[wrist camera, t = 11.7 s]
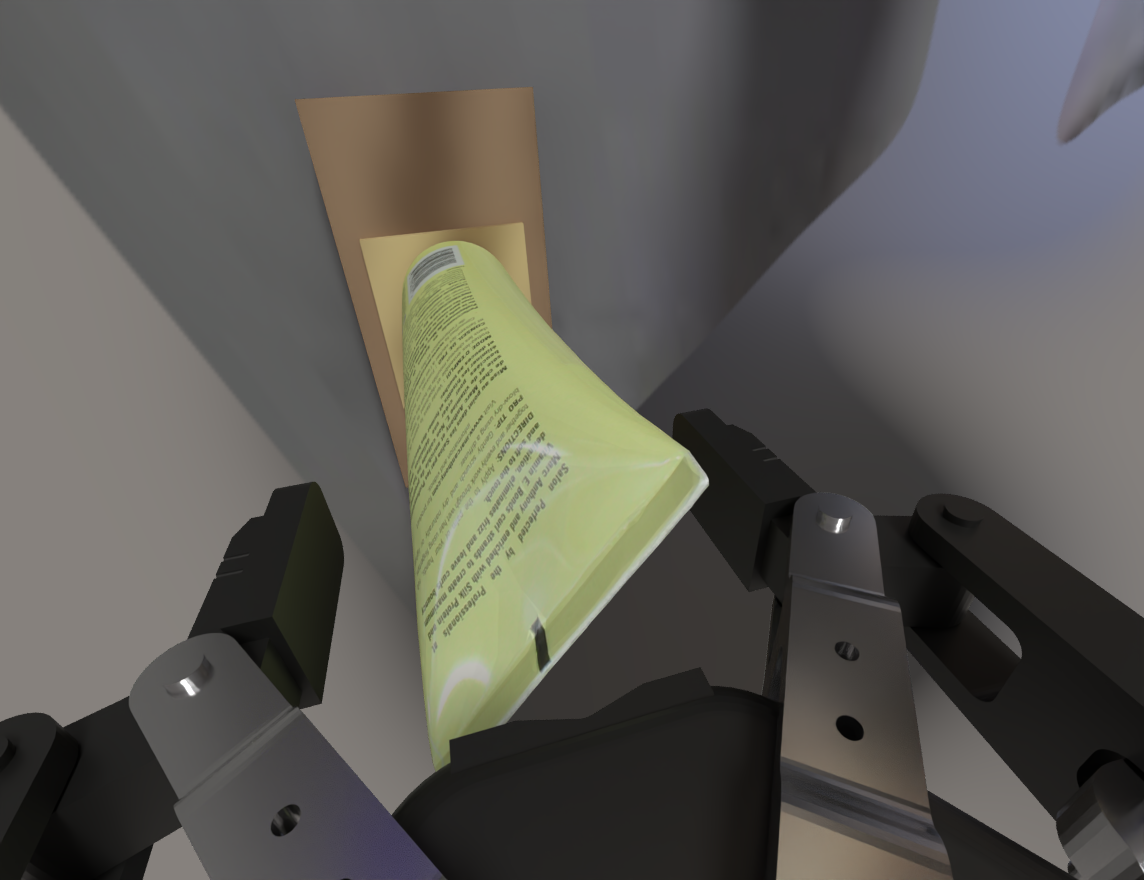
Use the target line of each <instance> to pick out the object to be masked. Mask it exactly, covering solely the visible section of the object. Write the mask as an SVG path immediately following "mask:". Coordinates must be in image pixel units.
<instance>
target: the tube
mask: <svg viewBox="0 0 1144 880" xmlns="http://www.w3.org/2000/svg"><path fill="white" fill-rule="evenodd" d="M402 343H403V376H404V402H405V423H406V444H407V465H408V485H409V500H410V514H411V528H412V544H413V560H414V577H415V593H416V609H417V625H418V637H419V648H420V659H421V670H422V681H423V692H424V702H425V711H426V720H427V729H428V737H429V743H430V749H431V755H432V761H433V765H434V769H435V772H436V771H438V770H439V769H441V768H442V767H444V766H445V765H447V764H449V763H450V746H449V740H451V739H454V738H458V737H461V736H465V735H468V734H472V733H475V732H479V731H482V730H485V729H489V728H492V727H496V726H499V725H503V724H506V722H507V721H508V720H509V719H510V718H511V717H512V715H513V714H514V713H515V712H516V711H517V709H518V708H519V707H520V706H521V705H522V704H523V702H524V701H525V700H526V699H527V697H528V696H529V695H530V694H531V692H532V691H533V690H534V688H535V687H536V686H537V685H538V684H539V683H540V682H541V680H542V679H543V678H544V677H545V675H546V674H547V673H548V672H549V671H550V669H551V668H552V667H553V666H554V665H555V664H556V663H557V661H558V660H559V659H560V658H561V657H562V656H563V654H564V653H565V652H566V651H567V650H568V649H569V647H570V646H571V645H572V644H573V643H574V642H575V641H576V639H577V638H578V637H579V636H580V635H581V634H582V633H583V631H584V630H585V629H586V628H587V627H588V626H589V624H590V623H591V622H592V620H593V619H594V618H595V617H596V616H597V615H598V614H599V613H600V612H601V611H602V609H603V608H604V607H605V606H606V605H607V604H608V603H609V601H610V600H611V599H612V598H613V597H614V596H615V594H616V593H617V592H618V591H619V590H620V589H621V587H622V586H623V585H624V584H625V583H626V581H627V580H628V579H629V578H630V577H631V576H632V575H633V574H634V573H635V571H636V570H637V569H638V568H639V567H640V566H641V565H642V564H643V562H644V561H645V560H646V559H647V558H648V557H649V556H650V554H651V553H652V552H653V551H654V550H655V549H656V548H657V546H658V545H659V544H660V543H661V542H662V541H663V540H664V538H665V537H666V536H667V535H668V534H669V532H670V531H671V530H672V529H673V528H674V527H675V525H676V524H677V523H678V522H679V521H680V519H681V518H682V517H683V516H684V515H685V514H686V512H687V511H688V510H689V509H690V508H691V507H692V506H693V504H694V503H695V502H696V500H697V499H698V498H699V497H700V495H701V494H702V493H703V492H704V491H705V489H706V488H707V487H708V486H709V479H708V477H707V475H706V473H705V472H704V471H703V469H702V468H701V467H700V465H699V464H698V462H697V461H696V460H695V458H694V457H693V456H692V454H691V453H690V451H689V450H687V449H686V448H684V447H683V446H682V445H680V444H679V443H677V442H676V441H675V440H673V439H672V438H670V437H669V436H668V435H667V434H665V433H664V432H663V431H662V430H660V429H659V428H658V427H656V426H655V425H653V424H652V423H651V422H649V421H648V420H646V419H645V418H644V417H642V416H641V415H639V414H638V413H637V412H636V411H635V410H634V409H632V408H631V407H630V406H629V405H628V404H627V403H625V402H624V401H623V400H622V399H621V398H620V397H618V396H617V395H616V394H615V393H614V392H613V391H612V390H611V389H610V388H609V387H608V386H607V385H606V384H605V383H604V382H603V381H601V380H600V379H599V378H598V377H597V376H596V375H595V374H594V373H593V372H592V371H591V370H590V369H589V368H588V367H587V366H586V365H585V364H584V363H583V362H582V361H581V360H580V359H579V358H578V356H577V355H576V354H575V353H574V352H573V351H572V350H571V349H570V348H569V347H568V346H567V345H566V344H565V343H564V342H563V341H562V340H561V338H560V337H559V336H558V335H557V334H556V333H555V332H554V331H553V330H552V329H551V328H550V326H549V325H548V324H547V323H546V322H545V321H544V319H543V318H542V317H541V316H540V315H539V313H538V312H537V311H536V310H535V309H534V307H533V306H532V305H531V304H530V302H529V301H528V300H527V298H526V297H525V296H524V294H523V293H522V292H521V290H520V289H519V288H518V286H517V285H516V284H515V282H514V281H513V279H512V278H511V277H510V275H509V274H508V272H507V271H506V270H505V268H504V267H503V265H502V264H501V263H500V262H499V261H498V260H497V259H496V258H495V256H493V255H492V254H491V253H490V252H488V251H487V250H486V249H484V248H482V247H480V246H478V245H475V244H473V243H469V242H464V241H447V242H442V243H439V244H436V245H434V246H431V247H429V248H428V249H426V250H424V251H423V252H422V253H421V254H419V255H418V256H417V257H416V258H415V259H414V261H413V262H412V264H411V265H410V267H409V268H408V270H407V273H406V275H405V279H404V282H403V290H402Z"/></svg>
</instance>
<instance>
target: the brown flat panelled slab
mask: <svg viewBox="0 0 1144 880" xmlns="http://www.w3.org/2000/svg"><path fill="white" fill-rule="evenodd" d="M295 102H296V106H297V109H298V113H299V116H300V120H301V123H302V127H303V130H304V134H305V137H306V141H307V144H308V148H309V151H310V155H311V158H312V162H313V165H314V169H315V172H316V176H317V179H318V183H319V186H320V189H321V193H322V196H323V200H324V203H325V207H326V210H327V214H328V217H329V221H330V224H331V228H332V231H333V235H334V238H335V242H336V245H337V249H338V252H339V256H340V259H341V263H342V266H343V270H344V273H345V277H346V280H347V284H348V287H349V291H350V294H351V298H352V301H353V305H354V308H355V312H356V315H357V319H358V322H359V326H360V329H361V333H362V336H363V340H364V343H365V347H366V350H367V354H368V357H369V361H370V364H371V368H372V371H373V374H374V378H375V381H376V385H377V388H378V392H379V395H380V399H381V402H382V406H383V409H384V413H385V416H386V420H387V423H388V427H389V430H390V434H391V437H392V441H393V444H394V448H395V451H396V455H397V458H398V462H399V465H400V469H401V472H402V476H403V479H404V483H405V486H406V487H409V485H408V465H407V444H406V423H405V402H404V376H403V343H402V290H403V282H404V279H405V275H406V273H407V270H408V268H409V267H410V265H411V264H412V262H413V261H414V259H415V258H416V257H417V256H418V255H419V254H421V253H422V252H423V251H424V250H426V249H428V248H429V247H431V246H434V245H436V244H439V243H442V242H447V241H464V242H469V243H473V244H475V245H478V246H480V247H482V248H484V249H486V250H487V251H488V252H490V253H491V254H492V255H493V256H495V258H496V259H497V260H498V261H499V262H500V263H501V264H502V265H503V267H504V268H505V270H506V271H507V272H508V274H509V275H510V277H511V278H512V279H513V281H514V282H515V284H516V285H517V286H518V288H519V289H520V290H521V292H522V293H523V294H524V296H525V297H526V298H527V300H528V301H529V302H530V304H531V305H532V306H533V307H534V309H535V310H536V311H537V312H538V313H539V315H540V316H541V317H542V318H543V319H544V321H545V322H546V323H547V324H548V325H549V326H550V328H551V329H552V321H551V309H550V297H549V284H548V272H547V259H546V247H545V234H544V222H543V209H542V197H541V184H540V172H539V159H538V147H537V135H536V122H535V110H534V97H533V87H522V88H503V89H484V90H465V91H446V92H427V93H408V94H389V95H370V96H351V97H332V98H313V99H295Z"/></svg>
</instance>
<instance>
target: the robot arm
mask: <svg viewBox="0 0 1144 880" xmlns="http://www.w3.org/2000/svg"><path fill="white" fill-rule="evenodd" d="M672 439H673V440H675V441H676V442H677V443H679V444H680V445H682V446H683V447H684V448H686V449H687V450H689V451H690V453H691V454H692V456H693V457H694V458H695V460H696V461H697V462H698V464H699V465H700V467H701V468H702V469H703V471H704V472H705V473H706V475H707V477H708V479H709V486H708V487H707V488H706V489H705V491H704V492H703V493H702V494H701V495H700V497H699V498H698V499H697V500H696V502H695V503H694V504H693V506H692V507H691V508H690V511H691V512H692V514H693V515H694V516H695V518H696V519H697V521H698V522H699V523H700V525H701V526H702V528H703V529H704V530H705V532H706V533H707V534H708V536H709V537H710V539H711V540H712V541H713V543H714V544H715V546H716V547H717V548H718V550H719V551H720V553H721V554H722V555H723V557H724V558H725V560H726V561H727V562H728V564H729V565H730V566H731V568H732V569H733V571H734V572H735V573H736V575H737V576H738V578H739V579H740V580H741V582H742V583H743V585H744V586H745V587H746V589H747V590H748V591H749V592H751V591H754V590H758V589H762V588H766V587H769V588H770V589H771V590H772V592H773V593H774V598H773V603H772V610H771V620H770V628H769V629H770V630H769V638H768V647H767V657H766V666H765V675H764V683H763V690H762V695H758V694H756V693H752V692H749V691H746V690H741V689H737V688H732V687H722V686H710V685H709V683H708V681H707V679H706V677H705V675H704V673H703V671H702V670H701V668H700V667H699V668H696V669H692V670H689V671H685V672H682V673H678V674H675V675H672V676H668V677H665V678H661V679H658V680H654V681H651V682H648V683H644V684H642V685H640V686H639V687H637V688H635V689H634V690H632V691H630V692H629V693H627V694H625V695H624V696H622V697H621V698H619V699H617V700H616V701H614V702H612V703H611V704H609V705H608V706H606V707H604V708H602V709H601V710H599V711H598V712H596V713H594V714H593V715H591V716H589V717H586V718H583V719H565V720H564V719H563V720H528V721H513V722H510V723H506V724H503V725H499V726H496V727H492V728H489V729H485V730H482V731H479V732H475V733H472V734H468V735H465V736H461V737H458V738H454V739H451V740H449V746H450V763H449V764H447V765H445V766H444V767H442V768H441V769H439V770H438V771H436V772H435V773H434V774H432V775H431V776H430V777H429V778H427V779H426V780H424V781H423V782H422V783H421V784H420V785H419V786H418V787H417V788H416V789H415V790H414V791H413V792H411V793H410V794H409V795H408V796H407V798H406V799H405V800H404V801H403V802H402V803H401V804H400V806H399V807H398V808H397V809H396V810H395V812H394V813H393V814H392V815H391V814H390V813H389V812H388V811H387V810H386V809H385V807H384V806H383V805H382V804H381V803H380V802H379V801H378V799H377V798H376V797H375V796H374V795H373V793H372V792H371V791H370V790H369V789H368V788H367V787H366V785H365V784H364V783H363V782H362V781H361V780H360V778H359V777H358V776H357V775H356V774H355V773H354V771H353V770H352V769H351V768H350V767H349V766H348V764H347V763H346V762H345V761H344V760H343V759H342V758H341V756H340V755H339V754H338V753H337V752H336V751H335V749H334V748H333V747H332V746H331V745H330V743H329V742H328V741H327V740H326V739H325V738H324V737H323V735H322V734H321V733H320V732H319V731H318V730H317V728H316V727H315V726H314V725H313V724H312V723H311V721H310V720H309V719H308V718H307V717H306V716H305V714H303V712H302V711H301V710H300V709H303V708H307V707H311V706H314V705H318V704H321V703H322V698H323V692H324V685H325V679H326V672H327V667H328V660H329V653H330V647H331V642H332V635H333V628H334V623H335V616H336V610H337V604H338V597H339V592H340V585H341V579H342V573H343V566H344V552H343V546H342V541H341V538H340V535H339V532H338V530H337V528H336V525H335V523H334V520H333V518H332V515H331V513H330V510H329V508H328V505H327V503H326V500H325V498H324V496H323V493H322V491H321V488H320V487H319V485H318V484H317V483H316V482H309V483H304V484H299V485H293V486H288V487H283V488H277V489H275V490H274V491H273V493H272V496H271V498H270V501H269V503H268V506H267V509H266V512H265V514H264V516H260V517H255V518H251V519H250V520H249V521H248V522H247V523H246V524H245V525H244V526H243V527H242V528H241V529H240V530H239V531H238V532H237V533H236V534H235V535H234V536H233V537H232V539H231V541H230V544H229V546H228V548H227V551H226V553H225V555H224V557H223V558H224V561H223V562H221V564H220V566H219V569H218V571H217V573H216V577H217V578H216V579H214V580H213V582H212V584H211V587H210V589H209V591H208V593H207V596H206V598H205V600H204V603H203V605H202V607H201V609H200V612H199V614H198V616H197V618H196V621H195V623H194V625H193V627H192V630H191V632H190V634H189V636H188V639H187V640H186V641H183V642H181V643H179V644H177V645H175V646H174V647H172V648H170V649H168V650H167V651H166V652H164V653H163V654H162V655H160V656H159V657H158V658H156V659H155V660H154V661H153V662H152V663H151V664H150V665H149V666H148V667H147V668H146V669H145V670H144V671H143V672H142V673H141V675H140V676H139V677H138V679H137V680H136V682H135V684H134V685H133V688H132V690H131V692H130V696H128V697H126V698H124V699H122V700H120V701H118V702H116V703H114V704H112V705H110V706H107V707H105V708H103V709H101V710H99V711H97V712H95V713H93V714H91V715H89V716H86V717H84V718H82V719H80V720H78V721H76V722H74V723H71V724H70V725H67V726H65V727H62V726H61V725H59V724H58V723H57V722H56V721H55V720H54V719H53V718H52V717H51V716H49V715H47V714H44V713H27V714H23V715H18V716H15V717H12V718H9V719H6V720H4V721H1V722H0V880H143V876H144V873H145V870H146V867H147V863H148V860H149V857H150V854H151V851H152V847H153V844H154V843H155V842H157V841H159V840H160V839H162V838H164V837H165V836H167V835H169V834H170V833H172V832H174V831H175V830H177V829H179V828H181V827H183V829H184V831H185V833H186V835H187V837H188V838H189V840H190V842H191V844H192V846H193V848H194V850H195V852H196V853H197V855H198V857H199V859H200V861H201V863H202V865H203V867H204V868H205V871H206V872H207V874H208V876H209V878H210V880H1144V618H1143V617H1142V616H1140V615H1139V614H1137V613H1136V612H1135V611H1133V610H1132V609H1130V608H1129V607H1128V606H1126V605H1125V604H1123V603H1122V602H1121V601H1119V600H1118V599H1116V598H1115V597H1114V596H1112V595H1111V594H1110V593H1108V592H1107V591H1105V590H1104V589H1103V588H1101V587H1100V586H1098V585H1097V584H1096V583H1094V582H1093V581H1091V580H1090V579H1089V578H1087V577H1086V576H1084V575H1083V574H1081V573H1080V572H1079V571H1077V570H1076V569H1075V568H1073V567H1072V566H1070V565H1069V564H1068V563H1066V562H1065V561H1063V560H1062V559H1061V558H1059V557H1058V556H1056V555H1055V554H1054V553H1052V552H1051V551H1049V550H1048V549H1046V548H1045V547H1044V546H1042V545H1041V544H1040V543H1038V542H1037V541H1035V540H1034V539H1033V538H1031V537H1030V536H1028V535H1027V534H1025V533H1024V532H1023V531H1021V530H1020V529H1019V528H1017V527H1016V526H1014V525H1013V524H1012V523H1010V522H1009V521H1007V520H1006V519H1005V518H1003V517H1002V516H1000V515H999V514H998V513H996V512H995V511H993V510H992V509H990V508H989V507H987V506H985V505H983V504H981V503H979V502H977V501H974V500H972V499H969V498H966V497H962V496H957V495H951V494H931V495H927V496H925V497H923V498H921V499H920V500H919V501H918V503H917V505H916V508H915V510H914V513H913V515H912V516H874V515H872V514H871V513H870V512H869V510H867V509H866V508H865V507H864V506H862V505H861V504H860V503H858V502H856V501H854V500H852V499H850V498H848V497H845V496H842V495H838V494H834V493H823V492H819V493H817V492H815V491H814V490H813V489H812V488H811V487H810V486H809V485H808V484H807V483H806V482H804V481H803V480H802V479H801V478H800V477H799V476H798V475H797V474H796V473H795V472H793V471H792V470H791V469H790V468H789V467H788V466H787V465H786V464H785V463H784V462H782V461H781V460H780V459H777V456H776V455H775V454H774V453H773V452H771V451H770V450H769V449H766V447H765V445H764V444H763V443H762V442H760V441H759V440H758V439H757V438H756V437H755V436H754V435H753V434H752V433H749V432H747V431H745V430H743V429H741V428H739V427H737V426H734V425H726V424H725V423H724V422H723V421H722V420H721V419H719V418H718V417H717V416H716V415H715V414H714V413H713V412H712V411H711V410H710V409H701V410H697V411H691V412H686V413H680V414H677V415H676V416H675V418H674V423H673V438H672ZM975 597H976V598H977V599H978V600H979V601H981V602H982V603H983V604H984V605H985V606H986V607H987V608H988V609H989V610H990V611H991V612H993V613H994V614H995V615H996V616H997V617H998V618H999V619H1000V620H1001V621H1003V622H1004V623H1005V624H1006V625H1007V626H1008V627H1009V628H1010V629H1011V630H1012V631H1013V632H1014V634H1015V635H1016V637H1017V638H1018V640H1019V642H1020V645H1021V649H1022V658H1021V659H1020V658H1019V657H1018V656H1017V655H1016V654H1015V653H1014V652H1013V651H1012V650H1011V649H1010V648H1009V647H1008V646H1006V645H1005V644H1004V643H1003V642H1002V641H1001V640H1000V639H999V638H998V637H997V636H996V635H995V634H993V632H992V631H990V629H988V628H987V627H986V626H985V625H984V624H983V623H982V622H981V621H980V620H979V619H978V618H977V617H976V616H975V615H974V614H973V613H971V612H970V611H969V610H968V609H969V607H970V605H971V603H972V601H973V600H974V598H975ZM906 648H907V649H906ZM907 650H908V651H909V652H910V653H911V654H912V655H913V656H914V657H915V659H916V660H917V661H918V662H919V664H920V665H921V666H922V667H923V668H924V669H925V670H926V672H927V673H928V674H929V675H930V676H931V677H932V678H933V680H934V681H935V682H936V683H937V684H938V685H939V687H940V688H941V689H942V690H943V691H944V692H945V694H946V695H947V696H948V697H949V698H950V699H951V701H952V702H953V703H954V704H955V705H956V706H957V707H958V709H959V710H960V711H961V712H962V713H963V714H964V715H965V717H966V718H967V719H968V720H969V721H970V722H971V724H972V725H973V726H974V727H975V728H976V729H977V731H978V732H979V733H980V734H981V735H982V736H983V738H985V740H986V741H987V742H988V743H989V744H990V745H991V747H992V748H993V749H994V750H995V751H996V753H997V754H998V755H999V756H1000V757H1001V758H1002V759H1003V761H1004V762H1005V763H1006V764H1007V765H1008V766H1009V768H1010V769H1011V770H1012V771H1013V772H1014V773H1015V774H1016V776H1017V777H1018V778H1019V779H1020V780H1021V781H1022V782H1023V784H1024V785H1025V786H1026V787H1027V788H1028V789H1029V791H1030V792H1031V793H1032V794H1033V795H1034V796H1035V797H1036V799H1037V800H1038V801H1039V802H1040V803H1041V805H1042V806H1043V807H1044V808H1045V809H1046V810H1047V811H1048V813H1049V814H1050V815H1051V816H1052V817H1053V818H1054V820H1055V821H1056V829H1057V833H1058V837H1059V840H1060V842H1061V844H1062V847H1063V849H1064V850H1065V852H1066V854H1067V856H1068V858H1069V859H1070V861H1069V863H1068V873H1069V874H1068V873H1067V872H1065V871H1063V870H1062V869H1060V868H1058V867H1056V866H1055V865H1053V864H1051V863H1050V862H1048V861H1046V860H1045V859H1043V858H1041V857H1039V856H1038V855H1036V854H1034V853H1032V852H1031V851H1029V850H1028V849H1026V848H1024V847H1022V846H1021V845H1019V844H1017V843H1016V842H1014V841H1012V840H1010V839H1009V838H1007V837H1005V836H1004V835H1002V834H1000V833H999V832H997V831H995V830H994V829H992V828H990V827H989V826H987V825H985V824H984V823H982V822H980V821H978V820H977V819H975V818H973V817H972V816H970V815H968V814H967V813H965V812H963V811H961V810H960V809H958V808H956V807H955V806H953V805H951V804H950V803H948V802H946V801H944V800H943V799H941V798H940V797H938V796H936V795H934V794H933V793H931V792H929V791H928V790H927V786H926V779H925V772H924V766H923V758H922V752H921V745H920V738H919V731H918V724H917V717H916V711H915V704H914V697H913V691H912V683H911V677H910V670H909V663H908V656H907Z"/></svg>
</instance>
